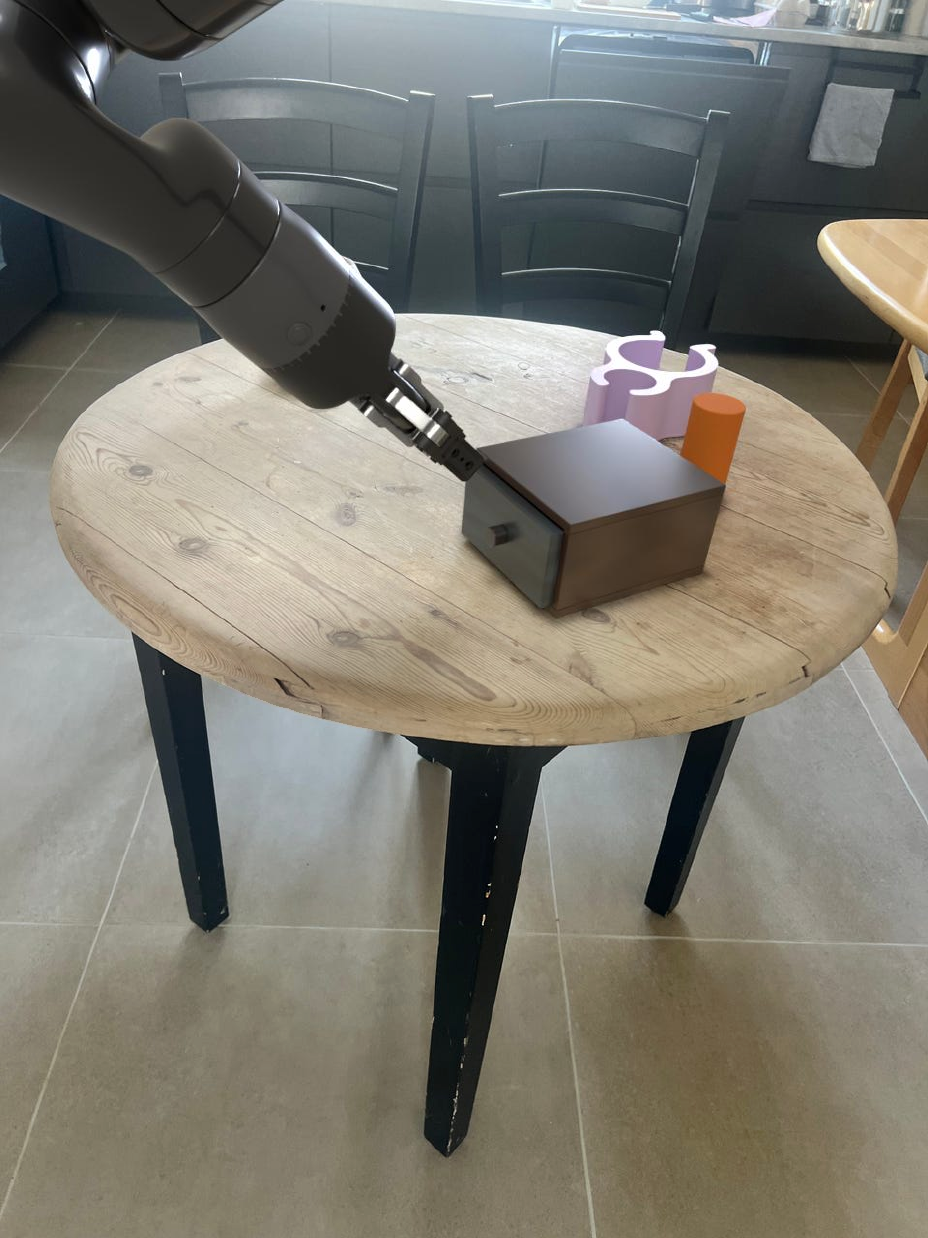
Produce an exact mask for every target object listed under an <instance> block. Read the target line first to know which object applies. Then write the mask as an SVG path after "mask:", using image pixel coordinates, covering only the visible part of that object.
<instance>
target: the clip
mask: <svg viewBox="0 0 928 1238" xmlns="http://www.w3.org/2000/svg"><path fill="white" fill-rule="evenodd" d="M665 341H666V336H665V335H664V334H663V331H659V330H651V331H650V332H649V335H647V334H646V335H644V334H643V335H642V334H641V335H639V334H638V335H627V336H622V337H619V338H615V339H613V340H611V341H610V342H608V343H607V344H606V346H605V351H604V357H603V363H602V365H599V366H597V367H594V368H593V369H592V370H591V372H590V374H589V383H588V386H587V392H586V393H587V394H586V399H585V406H584V412H583V418H582V425H581V427H584V426H589V425H594V424H599V423H604V422H609V421H614V420H619V419H624V420H625V421H627V422H628V423H630V424H632V425H633V426H635V427H636V428H638V429H639V430H641V431H642V432H644V433H646V434H647V435H649V436H650V437H652V438H653V439H655V440H657V441H658V442H659V441H661V440H663V439H667V438H679V437H685V433H686V428H687V424H688V420H689V416H690V411H691V407H692V403H693V399H694V397H695V396H697V395H699V394H703V393H713V387H714V383H715V379H716V376H717V371H718V367H719V360H718V359H717V357H716V356H715V352H716V349H717V346H716V345H714V344H709V343H705V344H695V345H691V346H689V351H688V356H687V360H686V365H685V369H684V371H664V370H660V365H661V360H662V356H663V351H664V345H665Z"/></svg>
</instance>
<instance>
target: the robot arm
mask: <svg viewBox="0 0 928 1238" xmlns="http://www.w3.org/2000/svg"><path fill="white" fill-rule="evenodd" d="M284 1H285V0H0V195H2V196H4V197H6V198H8V199H10V200H12V201H14V202H16V203H19V204H20V205H23V206H25V207H27V208H30V209H32V210H34V211H36V212H38V213H40V214H42V215H45V216H46V217H48V218H51V219H53V220H55V221H57V222H59V223H61V224H64V225H65V226H68V227H69V228H72V229H73V230H76V231H77V232H79V233H80V234H83V235H86V236H88V237H90V238H93V239H95V240H97V241H99V242H102V243H103V244H106V245H108V246H110V247H112V248H113V249H116V250H119V251H121V252H122V253H124V254H125V255H128V256H129V257H130V258H131V259H132V260H134V261H135V262H136V263H137V264H138V265H139V266H140V267H141V268H143V269H144V270H145V271H147V272H148V273H150V274H151V275H152V276H153V277H154V278H156V279H157V280H158V281H160V283H162V284H163V285H164V286H165V287H166V288H168V289H169V290H170V291H171V292H173V293H174V294H175V295H177V296H178V297H179V298H180V299H181V300H183V301H184V302H185V303H186V304H187V305H189V307H191V308H192V309H193V311H195V312H196V313H197V314H198V315H199V316H200V317H201V318H202V319H203V320H204V321H205V322H206V323H207V324H208V325H209V327H210V328H211V329H213V331H215V333H216V334H217V335H218V336H219V337H220V338H221V339H223V340H224V341H225V342H226V343H227V344H229V345H230V346H231V347H233V349H235V350H237V352H239V353H240V354H241V355H243V356H244V357H245V358H246V359H248V360H249V361H250V362H252V363H253V364H254V365H255V366H257V368H259V369H260V370H261V371H262V372H264V373H265V374H266V375H268V376H269V377H270V378H271V379H272V380H274V381H275V382H276V383H277V384H278V385H280V386H281V387H283V389H285V390H286V391H287V392H289V393H290V394H291V395H292V396H294V397H295V398H296V399H297V400H299V402H301V403H302V404H303V405H305V406H307V407H309V408H311V409H314V410H329V409H333V408H338V407H340V406H342V405H344V404H346V403H347V402H349V403H351V405H352V406H354V407H356V409H357V410H358V412H360V413H361V415H363V416H364V417H365V418H367V419H368V420H369V421H370V422H371V423H373V425H375V426H376V427H377V428H380V429H386V430H387V431H388V432H389V433H390V434H391V435H393V436H394V437H396V439H398V440H399V441H400V442H401V443H402V444H404V445H405V447H407V448H412V447H415V448H416V449H417V450H418V451H419V452H420V453H423V455H425V456H426V457H427V458H429V460H431V461H432V462H433V463H434V464H438V465H440V466H443V467H444V468H446V470H448V471H449V472H450V473H452V475H453V476H455V477H456V478H457V479H458V480H459V481H460V482H462V483H465V482H466V481H468V480H469V479H470V478H471V477H472V476H473V475H474V473H475V472H476V471H477V470H478V469H479V468H480V466H481V465H482V464H483V462H484V458H483V456H482V455H481V454H480V453H479V452H478V451H477V450H476V448H475V447H474V446H472V445H471V443H469V442H468V440H466V438H467V435H466V433H465V432H464V429H463V428H462V427H460V425H458V424H457V422H456V421H455V420H454V419H453V415H452V414H451V413H450V412H449V411H448V410H445V411H444V408H445V407H444V404H443V403H442V402H441V401H440V400H439V399H438V398H437V397H436V396H435V395H434V394H433V393H432V392H431V391H430V390H428V388H426V386H425V385H423V383H422V377H421V375H419V374H418V372H416V371H415V370H414V369H413V368H412V366H410V365H409V364H408V363H406V362H405V361H404V360H403V359H402V358H398V357H397V356H396V355H395V353H392V349H393V347H394V344H395V341H396V335H397V321H396V315H395V314H394V311H393V309H392V307H391V306H390V304H388V302H387V301H386V300H385V299H384V298H383V297H382V296H381V295H380V294H379V293H378V292H377V291H376V290H375V289H374V288H373V287H372V286H371V285H370V284H369V283H368V282H367V281H366V280H365V279H364V278H363V276H362V275H361V276H362V277H361V276H360V275H359V274H358V273H357V272H356V271H355V270H354V269H353V268H352V267H351V266H350V265H349V264H348V263H347V262H346V261H345V260H344V259H343V257H341V256H342V255H341V254H340V253H339V252H338V251H337V250H336V249H335V248H334V247H333V246H332V245H331V244H330V242H328V241H327V240H326V239H325V237H323V236H322V235H321V234H320V232H318V231H317V230H316V229H315V228H314V227H313V225H311V224H310V223H308V222H307V220H305V219H304V218H303V217H301V215H299V214H297V213H296V212H294V211H293V210H292V209H291V208H289V207H288V206H287V205H285V204H284V203H283V202H282V201H281V200H280V199H279V198H278V197H277V196H275V194H274V193H273V192H272V191H271V190H270V189H269V188H268V187H267V186H266V185H265V184H264V182H262V181H261V180H260V179H259V177H257V176H256V175H255V174H254V173H253V172H252V170H250V169H249V168H248V166H246V164H245V163H243V162H242V160H241V159H240V158H239V157H238V156H236V154H235V153H234V152H233V151H232V150H231V149H229V147H227V146H226V145H225V144H224V143H223V142H222V141H221V140H220V139H219V138H218V137H217V136H215V135H214V134H213V133H212V132H211V131H210V130H208V129H207V128H206V127H204V126H203V125H202V124H201V123H199V122H197V121H195V120H192V119H189V118H187V117H170V118H168V119H165V120H161V121H160V122H158V123H155V124H154V125H153V126H151V127H150V128H149V129H147V130H146V131H145V132H143V133H142V135H141V136H137V135H135V134H133V133H131V132H129V131H128V130H126V129H124V128H122V127H121V126H119V124H116V123H115V122H114V121H112V120H111V119H110V118H109V117H108V116H107V115H105V114H104V113H103V112H102V111H101V110H100V109H99V106H100V104H101V101H102V98H103V96H104V93H105V91H106V87H107V85H108V81H109V79H110V76H111V74H112V73H113V72H114V71H115V69H116V68H117V67H118V66H119V65H120V64H121V63H122V62H123V61H124V60H125V59H126V58H127V57H128V56H129V55H130V54H131V53H133V52H134V53H136V54H137V55H140V56H141V57H145V58H147V59H151V60H154V61H159V62H175V61H181V60H185V59H189V58H191V57H193V56H195V55H196V56H197V55H198V54H200V53H202V52H204V51H206V50H209V49H210V48H212V47H214V46H216V45H217V44H219V43H220V42H222V41H224V40H226V38H228V37H230V36H232V34H234V33H236V32H237V31H239V30H240V29H241V28H243V27H245V26H247V25H248V24H249V23H251V22H252V21H255V20H256V19H257V18H259V17H260V16H262V15H263V14H265V13H267V12H268V11H270V10H271V9H273V8H274V7H276V6H277V5H279V4H280V3H282V2H284ZM340 255H341V256H340Z"/></svg>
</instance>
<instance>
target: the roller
mask: <svg viewBox="0 0 928 1238" xmlns="http://www.w3.org/2000/svg"><path fill="white" fill-rule="evenodd" d="M746 410H747V407H746V405H745V403H744V402H743V401H741V400H740V399H738V398H736V397H734V396H731V395H728V394H723V393H718V392H717V393H716V392H711V393H703V394H699V395H697V396H695V397H694V399H693V403H692V407H691V411H690V416H689V420H688V424H687V428H686V433H685V436H683V442H682V446H681V450H680V454H679V455H680V456H681V457H683V458H685V459H686V460H688V461H689V462H691V463H692V464H694V465H695V466H697V467H699V468H700V469H702V470H703V471H705V472H706V473H708V474H710V475H711V476H713V477H714V478H716V479H717V480H719V481H720V482H722V483H724V484H725V485H727V484H726V483H727V480H728V476H729V473H730V469H731V465H732V462H733V458H734V454H735V450H736V447H737V443H738V440H739V436H740V432H741V428H742V425H743V422H744V418H745V414H746Z"/></svg>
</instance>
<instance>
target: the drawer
mask: <svg viewBox="0 0 928 1238" xmlns="http://www.w3.org/2000/svg"><path fill="white" fill-rule="evenodd" d="M464 483H465V484H464V496H463V507H462V520H461V534H462V535H463V536H464V537H465V538H466V539H467V540H468V541H469V542H470V543H471V544H472V545H473V546H474V547H475V548H476V549H478V551H479V552H481V554H483V555H484V556H485V557H486V558H487V559H488V560H489V561H490V562H491V563H492V565H494V566H495V567H496V568H497V569H498V570H499V571H500V572H501V573H503V575H504V576H505V577H506V578H508V579H509V580H510V581H511V582H512V583H513V584H514V585H515V586H516V587H517V588H518V589H519V590H520V591H521V592H522V593H523V594H524V595H525V596H526V597H527V598H528V599H529V600H531V602H533V603H534V605H536V606H537V607H538V608H539V609H540V610H541V609H545V607H548V606H551V605H552V604H553V598H554V591H555V585H556V579H557V572H558V566H559V560H560V554H561V547H562V541H563V535H564V532H563V531H564V529H563V528H561V527H560V526H559V525H558V524H557V523H555V522H554V521H553V520H552V519H551V518H549V517H548V516H547V515H546V514H545V513H543V512H542V511H541V510H540V509H539V508H537V507H536V506H535V505H534V504H533V503H531V502H530V501H529V500H528V499H527V498H525V497H524V496H523V495H522V494H521V493H519V492H518V491H517V490H516V489H515V488H513V487H512V486H511V485H510V484H509V483H507V482H506V481H505V480H504V479H503V478H501V477H500V476H499V475H498V474H497V473H496V474H494V473H492V472H491V471H490V470H489V469H488V468H486V467H485V466H484V465H483V464H482V465H481V466H480V468H479V469H478V470H477V471H476V472H475V473H474V475H473V476H472V477H471V478H470V479H469V480H468V481H466V482H464Z"/></svg>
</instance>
